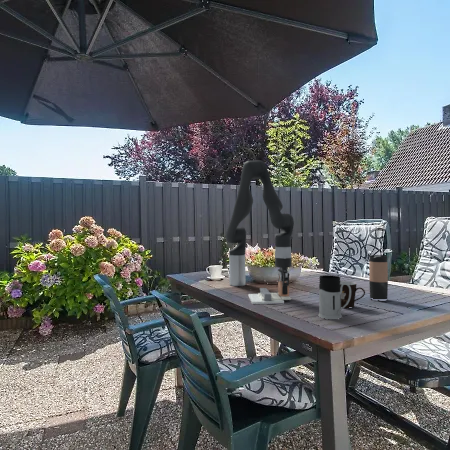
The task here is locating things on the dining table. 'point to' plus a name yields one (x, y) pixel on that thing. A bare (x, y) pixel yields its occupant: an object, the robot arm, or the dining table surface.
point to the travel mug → (378, 276)
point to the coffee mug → (346, 293)
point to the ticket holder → (265, 297)
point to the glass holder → (331, 297)
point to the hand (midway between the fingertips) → (283, 292)
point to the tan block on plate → (284, 297)
